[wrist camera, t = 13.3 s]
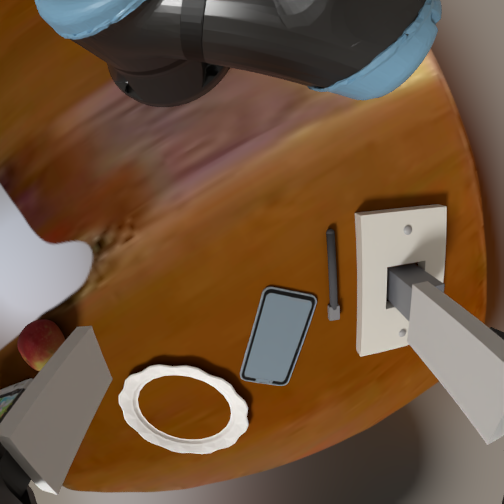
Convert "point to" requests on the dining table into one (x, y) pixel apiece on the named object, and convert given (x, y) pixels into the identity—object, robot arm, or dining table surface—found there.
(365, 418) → the dining table surface
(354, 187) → the dining table surface
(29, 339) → the apple
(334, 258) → the cable
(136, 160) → the dining table surface
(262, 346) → the smartphone
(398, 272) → the block
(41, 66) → the dining table surface
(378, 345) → the outlet plate
